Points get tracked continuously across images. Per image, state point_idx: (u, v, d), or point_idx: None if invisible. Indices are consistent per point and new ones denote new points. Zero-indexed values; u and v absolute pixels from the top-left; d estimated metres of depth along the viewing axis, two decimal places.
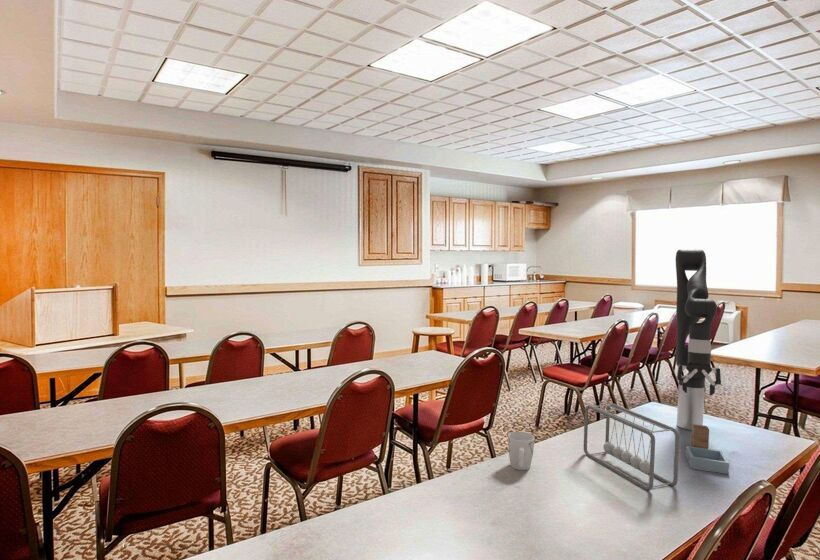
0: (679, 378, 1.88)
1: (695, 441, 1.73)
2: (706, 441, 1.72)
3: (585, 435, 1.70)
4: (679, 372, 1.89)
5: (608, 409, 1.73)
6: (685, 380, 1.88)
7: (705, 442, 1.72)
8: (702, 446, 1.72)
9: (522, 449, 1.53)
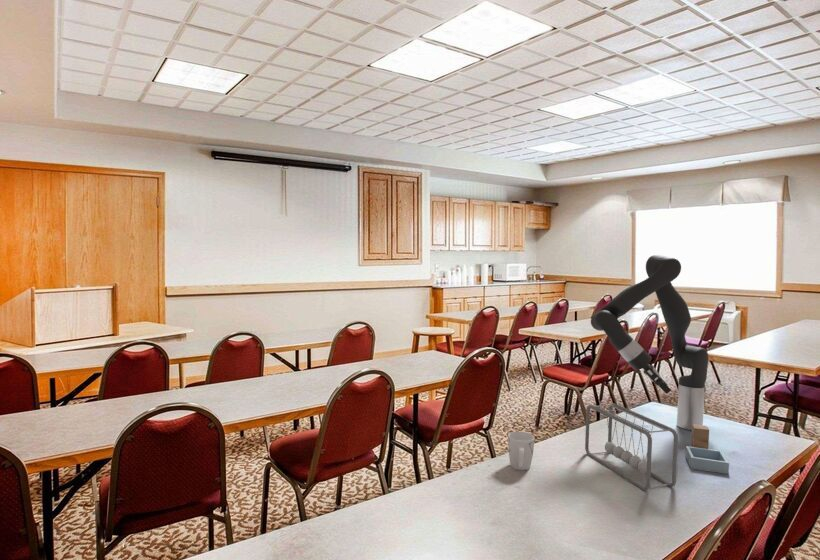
0: None
1: (695, 441, 1.73)
2: (706, 441, 1.72)
3: (586, 434, 1.71)
4: None
5: (610, 409, 1.73)
6: None
7: (705, 442, 1.72)
8: (702, 446, 1.72)
9: (522, 449, 1.53)
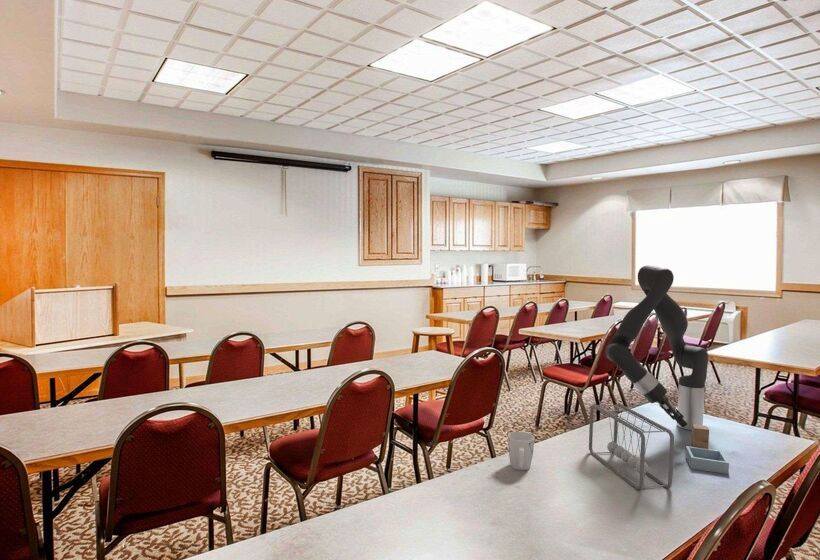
0: None
1: (695, 441, 1.73)
2: (706, 441, 1.72)
3: (590, 434, 1.72)
4: None
5: (616, 409, 1.73)
6: None
7: (705, 442, 1.72)
8: (702, 446, 1.72)
9: (522, 449, 1.53)
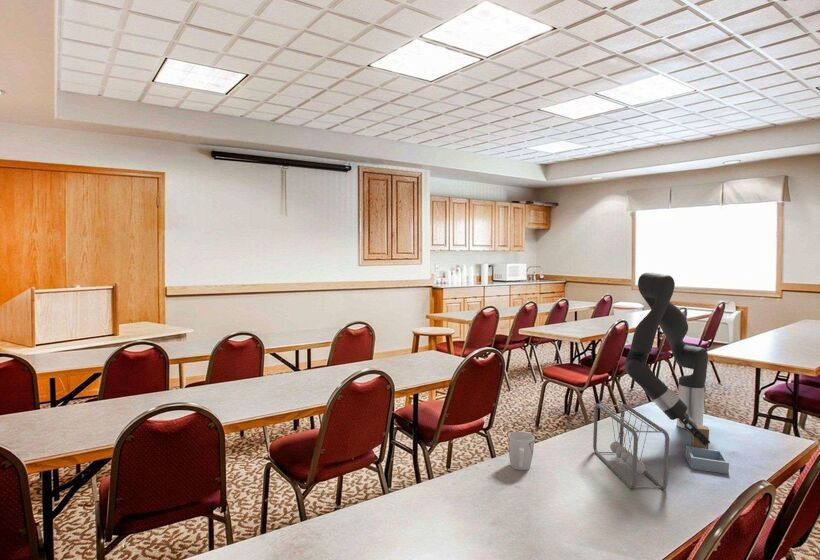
0: None
1: (695, 441, 1.73)
2: None
3: (594, 433, 1.72)
4: None
5: (622, 410, 1.72)
6: None
7: None
8: (702, 446, 1.72)
9: (522, 449, 1.53)
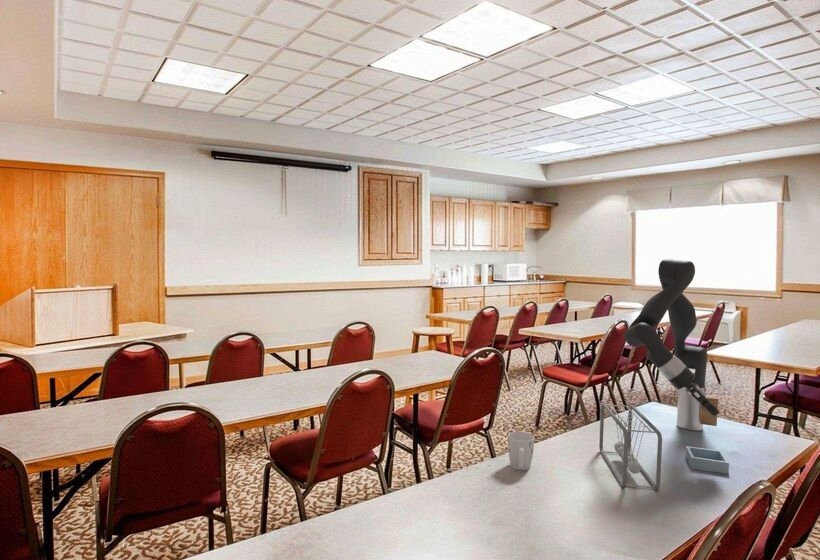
0: None
1: (703, 411, 1.61)
2: None
3: (600, 432, 1.73)
4: None
5: (629, 411, 1.71)
6: None
7: None
8: (710, 417, 1.61)
9: (522, 449, 1.53)
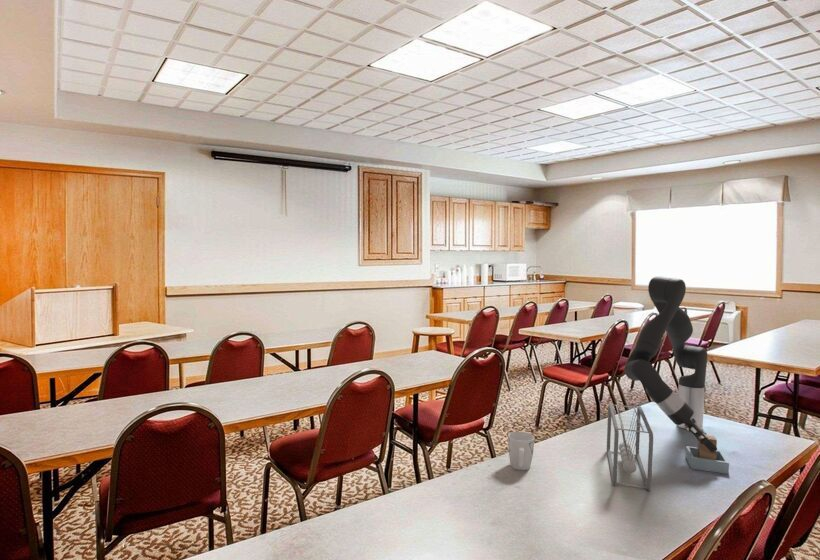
0: None
1: (702, 452, 1.62)
2: (713, 452, 1.60)
3: (607, 432, 1.73)
4: None
5: (638, 412, 1.70)
6: None
7: (712, 453, 1.61)
8: (709, 457, 1.61)
9: (522, 449, 1.53)
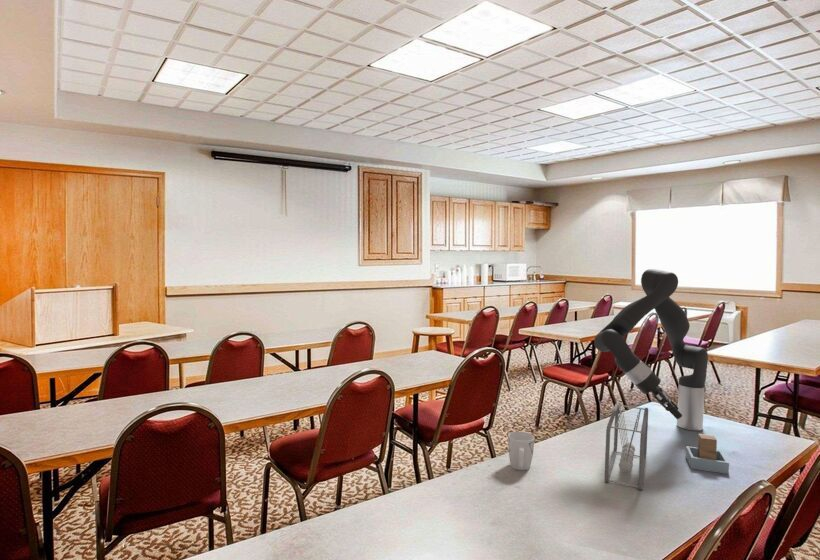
0: None
1: (702, 452, 1.62)
2: (713, 452, 1.60)
3: (614, 432, 1.73)
4: None
5: None
6: None
7: (712, 453, 1.61)
8: (709, 457, 1.61)
9: (522, 449, 1.53)
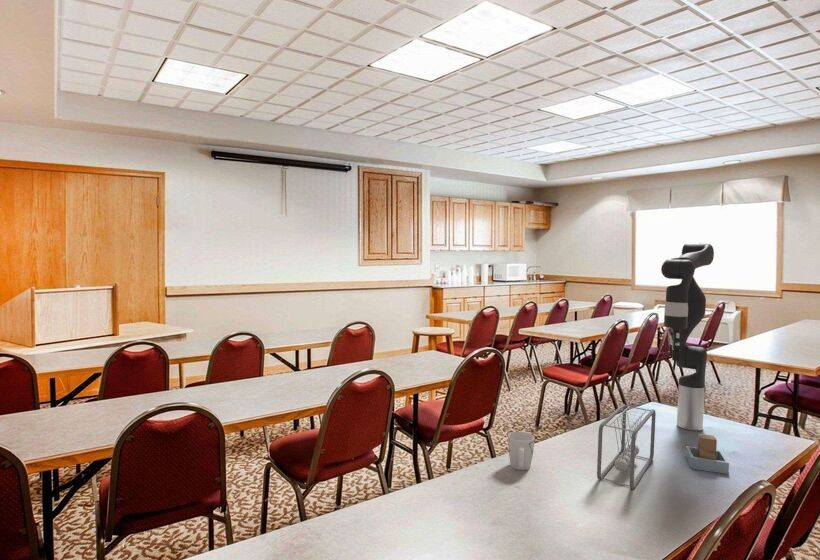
0: (668, 341, 1.86)
1: (702, 452, 1.62)
2: (713, 452, 1.60)
3: (622, 433, 1.73)
4: None
5: (652, 415, 1.67)
6: (669, 343, 1.84)
7: (712, 453, 1.61)
8: (709, 457, 1.61)
9: (522, 449, 1.53)
